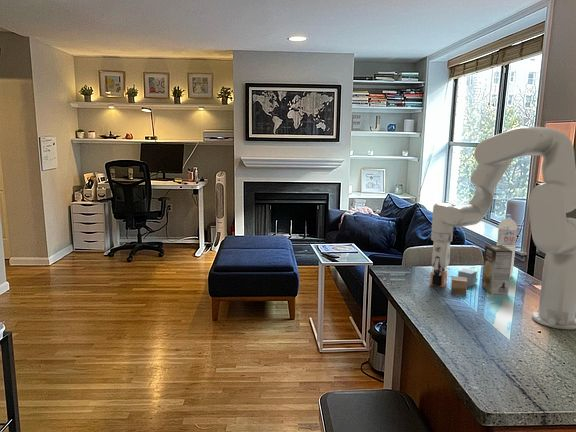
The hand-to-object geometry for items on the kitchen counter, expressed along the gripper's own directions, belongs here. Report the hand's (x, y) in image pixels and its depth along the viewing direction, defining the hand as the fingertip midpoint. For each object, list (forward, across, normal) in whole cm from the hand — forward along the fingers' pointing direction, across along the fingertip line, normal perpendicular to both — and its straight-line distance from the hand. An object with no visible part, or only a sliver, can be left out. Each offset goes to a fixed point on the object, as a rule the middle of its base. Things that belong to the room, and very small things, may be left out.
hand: (438, 282), depth 168 cm
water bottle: (+1, +27, -20) cm, 34 cm away
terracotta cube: (+1, 0, 0) cm, 1 cm away
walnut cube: (+1, -5, -8) cm, 10 cm away
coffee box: (+1, +4, -19) cm, 20 cm away
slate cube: (+1, +7, -9) cm, 11 cm away
